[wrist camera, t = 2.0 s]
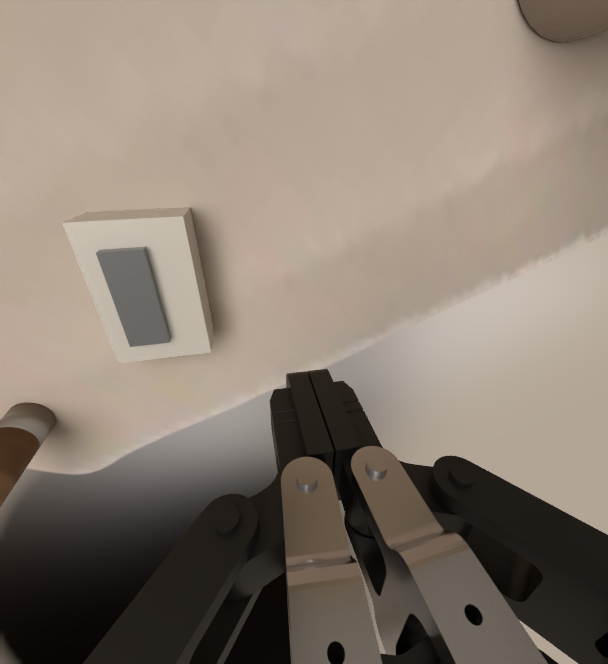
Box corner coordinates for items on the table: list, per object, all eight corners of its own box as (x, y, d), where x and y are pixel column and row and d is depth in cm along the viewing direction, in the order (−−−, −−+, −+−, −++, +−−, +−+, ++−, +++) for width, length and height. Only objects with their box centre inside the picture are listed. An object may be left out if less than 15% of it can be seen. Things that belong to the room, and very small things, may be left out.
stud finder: (190, 206, 20) (181, 218, 16) (214, 327, 25) (210, 357, 21) (89, 211, 19) (56, 225, 16) (133, 336, 24) (115, 368, 20)
